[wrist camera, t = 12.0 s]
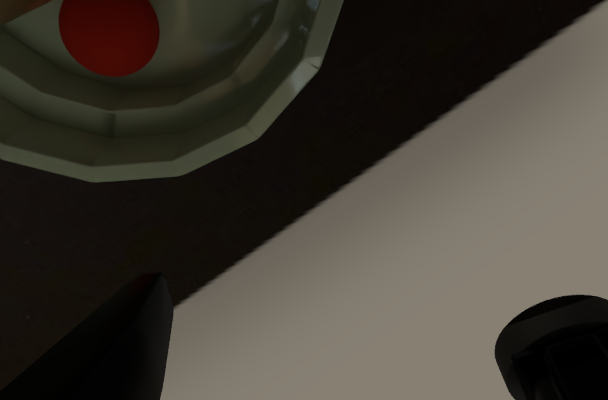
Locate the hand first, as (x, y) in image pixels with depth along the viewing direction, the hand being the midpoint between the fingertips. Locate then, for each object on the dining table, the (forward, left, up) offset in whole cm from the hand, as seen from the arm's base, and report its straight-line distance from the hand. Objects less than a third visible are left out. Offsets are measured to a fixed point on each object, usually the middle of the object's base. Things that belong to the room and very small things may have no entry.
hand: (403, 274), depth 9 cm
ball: (+6, +6, -9) cm, 12 cm away
